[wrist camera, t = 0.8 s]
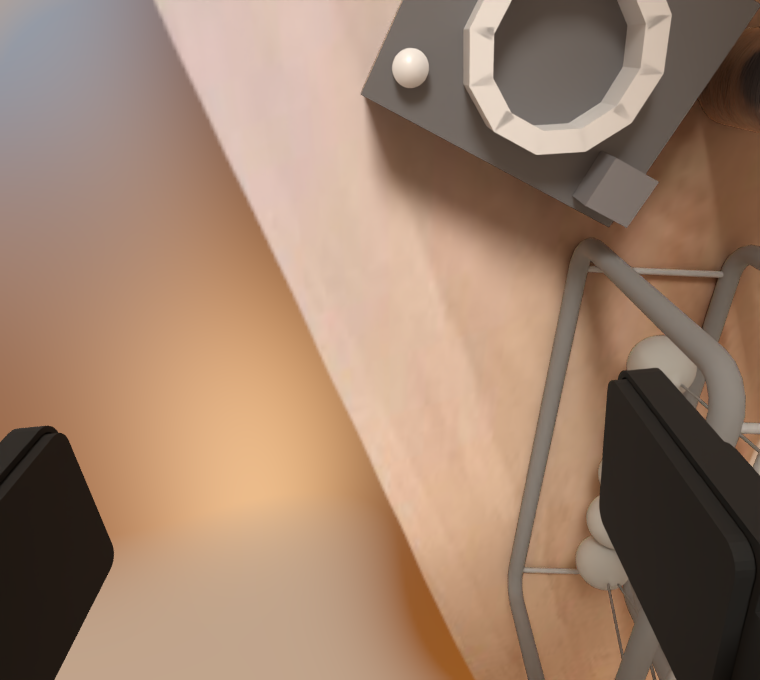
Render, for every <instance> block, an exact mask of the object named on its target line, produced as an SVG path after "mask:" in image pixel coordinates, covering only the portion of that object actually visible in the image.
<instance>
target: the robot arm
mask: <svg viewBox="0 0 760 680" xmlns="http://www.w3.org/2000/svg"><path fill="white" fill-rule="evenodd" d="M599 510H600V516H601V520H602V523H603V526H604V528H605V530H606V532H607V535H608V537H609V539H610V541H611V543H612V545H613V547H614V549H615V551H616V554H617V556H618V558H619V560H620V562H621V564H622V566H623V568H624V570H625V573H626V575H627V577H628V579H629V581H630V583H631V585H632V587H633V589H634V592H635V594H636V596H637V598H638V600H639V602H640V604H641V606H642V608H643V611H644V613H645V615H646V617H647V619H648V621H649V623H650V625H651V627H652V630H653V632H654V634H655V636H656V638H657V640H658V642H659V644H660V646H661V649H662V651H663V653H664V655H665V657H666V659H667V661H668V663H669V665H670V668H671V670H672V672H673V674H674V676H675V678H676V680H760V475H759V474H758V473H757V472H756V471H755V470H754V468H753V467H752V466H751V465H750V464H749V463H748V462H747V461H746V459H745V458H744V457H743V456H742V455H741V454H740V453H739V452H738V451H737V449H735V448H734V447H733V446H732V445H731V444H730V443H727V442H724V441H723V440H722V438H721V437H720V436H719V435H718V434H717V433H716V432H715V430H714V429H713V428H712V427H711V426H710V425H709V424H708V423H707V421H706V420H705V419H704V418H703V417H702V416H701V415H700V413H699V412H698V411H697V410H696V409H695V408H694V407H693V405H692V404H691V403H690V402H689V401H688V400H687V399H686V398H685V396H684V395H683V394H682V393H681V392H680V391H679V390H678V388H677V387H676V386H675V385H674V384H673V383H672V382H671V380H670V379H669V378H668V377H667V376H666V375H665V374H664V373H663V371H662V370H660V369H659V368H647V369H636V370H626V371H622V372H621V373H620V375H619V377H618V380H611V381H610V382H609V384H608V390H607V404H606V417H605V430H604V444H603V457H602V471H601V484H600V497H599ZM113 559H114V551H113V545H112V543H111V540H110V538H109V536H108V533H107V531H106V529H105V526H104V524H103V521H102V519H101V517H100V514H99V512H98V509H97V507H96V505H95V502H94V500H93V497H92V495H91V493H90V490H89V488H88V486H87V483H86V481H85V479H84V476H83V474H82V471H81V469H80V466H79V464H78V462H77V460H76V457H75V455H74V452H73V450H72V447H71V445H70V443H69V440H68V439H67V437H66V436H65V435H64V434H62V433H58V432H57V430H56V429H55V428H53V427H51V426H40V427H30V428H19V429H14V430H12V431H11V432H10V433H9V434H8V435H7V436H6V437H5V438H4V439H3V440H2V441H1V442H0V680H54V679H55V677H56V675H57V673H58V671H59V670H60V668H61V666H62V664H63V662H64V660H65V658H66V656H67V654H68V652H69V650H70V648H71V646H72V644H73V642H74V640H75V638H76V636H77V634H78V632H79V630H80V628H81V626H82V624H83V622H84V620H85V618H86V616H87V614H88V612H89V610H90V608H91V606H92V604H93V603H94V601H95V598H96V597H97V594H98V593H99V591H100V589H101V587H102V585H103V583H104V581H105V579H106V577H107V575H108V573H109V571H110V569H111V567H112V563H113Z"/></svg>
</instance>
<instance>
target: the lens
mask: <svg viewBox="0 0 760 680" xmlns="http://www.w3.org/2000/svg"><path fill="white" fill-rule="evenodd" d="M698 98H699V102H700V105H701V107H702V109H703V111H704V112H705V114H706V115H707V116H708V117H709V118H710V119H712V120H713V121H715V122H717V123H720V124H723V125H727V126H731V127H736V128H740V129H745V130H749V131H753V132H758V133H760V27H753V28H746V29H745V30H744V31H743V33H742V34H741V35H740V37H739V38H738V40H737V41H736V43H735V44H734V46H733V47H732V49H731V50H730V52H729V53H728V54H727V56H726V57H725V59H724V60H723V62H722V63H721V65H720V66H719V68H718V69H717V71H716V72H715V73H714V75H713V76H712V78H711V79H710V81H709V82H708V84H707V85H706V87H705V88H704V90H703V91H702V92H701V94H700V95H699V97H698Z"/></svg>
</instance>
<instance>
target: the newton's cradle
mask: <svg viewBox="0 0 760 680" xmlns="http://www.w3.org/2000/svg"><path fill="white" fill-rule="evenodd" d="M591 261H592V262H593V263H594V264H595V265H596V266H589V265H590V262H591ZM748 265H751V266H753V267H755V268H756V269H758V270H760V246H755V245H748V246H744V247H740V248H738V249H737V250H736V251H734V252H733V253H732V254H730V256H729V257H728V258H727V260H726V261H725V263H724V264H723V267H722V269H721V271H703V270H680V269H657V268H634V267H630V266H629V265H628V264H627V263H626V262H625V261H624V260H622V259H621V258H620V257H619V256H618V255H617V254H615V253H614V252H613V251H612V250H611V249H610V248H609V247H607V246H606V245H605V244H604V243H603V242H602V241H600V240H598V239H595V238H588V239H585V240H583V241H581V242H580V243H579V244H578V246H577V247H576V248H575V250H574V253H573V255H572V257H571V261H570V264H569V269H568V274H567V279H566V284H565V289H564V294H563V299H562V304H561V309H560V314H559V319H558V324H557V329H556V334H555V339H554V344H553V349H552V354H551V359H550V364H549V369H548V374H547V379H546V384H545V389H544V394H543V399H542V404H541V409H540V414H539V419H538V424H537V429H536V434H535V439H534V444H533V449H532V454H531V459H530V464H529V469H528V474H527V479H526V484H525V489H524V494H523V499H522V504H521V509H520V514H519V519H518V524H517V529H516V534H515V539H514V544H513V549H512V554H511V559H510V564H509V571H508V595H509V601H510V606H511V611H512V615H513V619H514V623H515V627H516V631H517V636H518V640H519V644H520V648H521V652H522V656H523V661H524V665H525V669H526V673H527V677H528V680H545V678H544V674H543V671H542V667H541V663H540V659H539V656H538V652H537V648H536V644H535V641H534V637H533V633H532V629H531V626H530V622H529V618H528V614H527V611H526V607H525V603H524V598H523V591H522V575H523V572H524V573H558V574H580V575H581V577H582V578H583V579H584V580H585V581H586V582H587V583H588V584H590V585H591V586H593V587H595V588H597V589H600V590H608V593H609V598H610V603H611V608H612V613H613V618H614V623H615V628H616V633H617V638H618V643H619V648H620V653H621V658H622V661H621V664H620V666H619V669H618V672H617V675H616V678H615V680H645V679H646V676H647V674H648V671H649V668H650V669H651V673H652V677H653V680H656V677H655V672H654V668H655V671H656V673H657V675H658V677H659V680H676V678H675V676H674V674H673V672H672V670H671V668H670V665H669V663H668V661H667V659H666V657H665V655H664V653H663V651H662V649H661V646H660V644H659V642H658V640H657V638H656V636H655V634H654V632H653V630H652V627H651V625H650V623H649V621H648V619H647V617H646V615H645V613H644V611H643V608H642V606H641V604H640V602H639V600H638V598H637V596H636V594H635V592H634V589H633V587H632V585H631V583H630V581H629V579H628V577H627V575H626V573H625V570H624V568H623V566H622V564H621V562H620V560H619V558H618V556H617V554H616V551H615V549H614V547H613V545H612V543H611V541H610V539H609V537H608V535H607V532H606V530H605V528H604V526H603V523H602V520H601V516H600V510H599V497H600V495H599V496H597V497H596V498H595V499H594V500H593V501H592V502H591V503H590V505H589V507H588V510H587V514H586V521H587V526H588V529H589V531H590V533H591V536H589V537H587V538H585V539H584V540H583V541H582V542H581V543H580V545H579V546H578V548H577V551H576V557H575V561H576V566H577V569H567V568H533V567H524V565H525V560H526V556H527V551H528V546H529V542H530V537H531V532H532V528H533V523H534V518H535V514H536V509H537V504H538V500H539V495H540V491H541V486H542V481H543V477H544V472H545V467H546V463H547V458H548V453H549V449H550V444H551V439H552V435H553V430H554V425H555V421H556V416H557V412H558V407H559V402H560V398H561V393H562V388H563V384H564V379H565V374H566V370H567V365H568V360H569V356H570V351H571V347H572V342H573V337H574V333H575V328H576V323H577V319H578V314H579V309H580V305H581V300H582V295H583V291H584V286H585V281H586V277H587V272H598V273H604V274H605V275H606V276H607V277H608V278H609V279H610V280H611V281H612V282H613V283H614V284H615V285H616V286H617V287H618V288H619V289H620V290H621V291H622V292H623V293H624V294H625V295H626V296H627V297H628V298H629V299H630V300H631V301H632V302H633V303H634V304H635V305H636V306H637V307H638V308H639V309H640V310H641V311H642V312H643V313H644V314H645V315H646V316H647V317H648V318H649V319H650V320H651V321H652V322H653V323H654V324H655V325H656V326H657V327H658V328H659V329H660V330H661V331H662V332H663V333H664V334H665V335H666V336H664V335H659V336H652V337H648V338H646V339H644V340H642V341H640V342H639V343H638V344H636V345H635V347H634V348H633V349H632V350H631V352H630V354H629V356H628V359H627V364H626V365H627V370H636V369H647V368H659V369H660V370H662V371H663V373H664V374H665V375H666V376H667V377H668V378H669V379H670V380H671V382H672V383H673V384H674V385H675V386H676V387H677V388H678V390H679V391H680V392H681V393H682V394H683V395H684V396H685V398H686V399H687V400H688V401H689V402H690V403H691V404H692V405H693V407H694V408H695V409H696V407H697V404H698V401H699V402H700V403H701V404H702V405H703V406H705V407H706V408H707V409H708V413H707V417H706V421H707V423H708V424H709V425H710V426H711V427H712V428H713V429H714V430H715V432H716V433H717V434H718V435H719V436H720V437H721V438H722V440H723V441H724V442H727V443H730V444H731V445H732V446H733V447H734V448H735V446H736V444H737V441H738V438H739V436H740V437H741V438H742V439H743V440H744V441H745V442H747V443H748V444H749V445H750V446H751V447H752V448H754V449H755V450H756V451H757V452H758V455H757V458H756V460H755V463H754V465H753V468H754V470H755V471H756V472H757V473H758V474H759V475H760V449H759V448H758V447H756V446H755V445H754V444H753V443H752V442H751V441H749V440H748V439H747V438H746V437H745V436H743V435H742V434H760V423H744V422H743V421H744V418H745V399H746V396H745V391H744V385H743V379H742V376H741V374H740V371H739V369H738V367H737V364H736V362H735V360H734V359H733V358H732V357H731V355H730V354H729V353H728V352H727V350H726V349H725V348H724V347H723V346H721V345H720V344H719V343H718V342H719V339H720V336H721V333H722V330H723V327H724V324H725V321H726V318H727V315H728V312H729V309H730V306H731V303H732V300H733V297H734V294H735V291H736V288H737V285H738V283H739V280H740V277H741V275H742V272H743V270H744V269H745V268H746V267H747V266H748ZM640 274H645V275H668V276H692V277H715V278H718V280H717V283H716V286H715V289H714V293H713V296H712V299H711V302H710V305H709V308H708V311H707V314H706V318H705V321H704V324H703V327H702V328H701V327H700V326H698V325H697V324H696V323H695V322H694V321H693V320H691V319H690V318H689V317H688V316H687V315H686V314H685V313H683V312H682V311H681V310H680V309H679V308H678V307H677V306H675V305H674V304H673V303H672V302H671V301H670V300H668V299H667V298H666V297H665V296H664V295H663V294H662V293H660V292H659V291H658V290H657V289H656V288H655V287H653V286H652V285H651V284H650V283H649V282H648V281H647V280H645V279H644V278H643V277H642V276H641V275H640ZM705 381H706V384H707V390H708V397H709V399H708V405H707V404H706V403H705V402H703V401H702V400H701V399H700V395H701V392H702V389H703V386H704V383H705ZM601 471H602V460H601V462H600V465H599V468H598V479H599V482H600V484H601ZM622 585H623V588H622V587H621V586H622ZM617 588H620V590H621V591H622V593H623V594H624V598H625V602H626V605H627V608H628V610H629V612H630V615H631V617H632V619H633V621H634V627H633V629H632V632H631V635H630V638H629V641H628V644H627V647H626V649H625V652H624V654H623V649H622V644H621V639H620V635H619V630H618V625H617V620H616V615H615V610H614V605H613V600H612V595H611V590H614V589H617ZM653 666H654V668H653Z"/></svg>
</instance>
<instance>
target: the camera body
mask: <svg viewBox="0 0 760 680" xmlns="http://www.w3.org/2000/svg"><path fill="white" fill-rule="evenodd" d="M759 8H760V4H759V3H758V2H756V1H755V0H402V1H401V3H400V6H399V8H398V10H397V12H396V15H395V17H394V19H393V21H392V23H391V26H390V28H389V30H388V32H387V35H386V37H385V39H384V41H383V44H382V46H381V48H380V50H379V52H378V55H377V57H376V59H375V61H374V64H373V66H372V68H371V70H370V73H369V75H368V77H367V79H366V82H365V84H364V86H363V88H362V92H361V95H362V96H364V97H366V98H368V99H370V100H372V101H373V102H375V103H377V104H379V105H381V106H383V107H385V108H387V109H388V110H390V111H392V112H394V113H396V114H398V115H400V116H402V117H403V118H405V119H407V120H409V121H411V122H413V123H415V124H417V125H418V126H420V127H422V128H424V129H426V130H428V131H430V132H431V133H433V134H435V135H437V136H439V137H441V138H443V139H445V140H446V141H448V142H450V143H452V144H454V145H456V146H458V147H460V148H461V149H463V150H465V151H467V152H469V153H471V154H473V155H474V156H476V157H478V158H480V159H482V160H484V161H486V162H488V163H489V164H491V165H493V166H495V167H497V168H499V169H501V170H503V171H504V172H506V173H508V174H510V175H512V176H514V177H516V178H518V179H519V180H521V181H523V182H525V183H527V184H529V185H531V186H532V187H534V188H536V189H538V190H540V191H542V192H544V193H546V194H547V195H549V196H551V197H553V198H555V199H557V200H559V201H561V202H562V203H564V204H566V205H568V206H570V207H572V208H574V209H575V210H577V211H579V212H581V213H583V214H585V215H587V216H589V217H590V218H592V219H594V220H596V221H598V222H600V223H602V224H604V225H605V226H607V227H610V225H611V224H612V223H613V221H615V222H617V223H619V224H620V225H622V226H624V227H626V228H627V227H628V226H629V224H630V223H631V221H632V220H633V219H634V217H635V216H636V214H637V213H638V211H639V210H640V209H641V207H642V206H643V204H644V203H645V201H646V200H647V199H648V197H649V196H650V194H651V193H652V191H653V190H654V189H655V187H656V186H657V184H658V183H659V182H658V181H656V180H655V179H653V178H651V177H649V176H648V175H646V173H647V171H648V170H649V168H650V167H651V166H652V164H653V163H654V161H655V160H656V158H657V157H658V155H659V154H660V152H661V151H662V149H663V148H664V147H665V145H666V144H667V142H668V141H669V139H670V138H671V136H672V135H673V133H674V132H675V130H676V129H677V128H678V126H679V125H680V123H681V122H682V120H683V119H684V117H685V116H686V114H687V113H688V111H689V110H690V109H691V107H692V106H693V104H694V103H695V101H696V100H697V98H698V97H699V95H700V94H701V92H702V91H703V90H704V88H705V87H706V85H707V84H708V82H709V81H710V79H711V78H712V76H713V75H714V73H715V72H716V71H717V69H718V68H719V66H720V65H721V63H722V62H723V60H724V59H725V57H726V56H727V54H728V53H729V52H730V50H731V49H732V47H733V46H734V44H735V43H736V41H737V40H738V38H739V37H740V35H741V34H742V33H743V31H744V30H745V28H746V27H747V25H748V24H749V22H750V21H751V19H752V18H753V16H754V15H755V14H756V12H757V11H758V9H759Z"/></svg>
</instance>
